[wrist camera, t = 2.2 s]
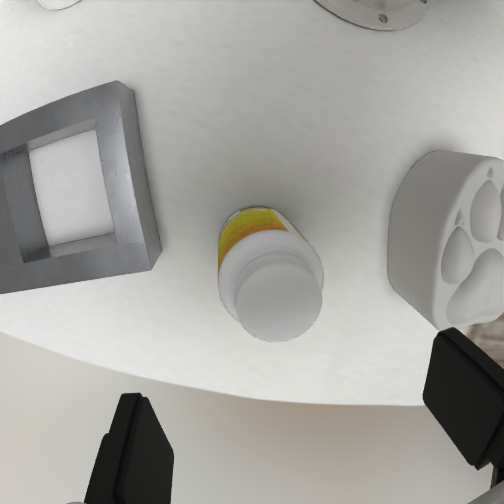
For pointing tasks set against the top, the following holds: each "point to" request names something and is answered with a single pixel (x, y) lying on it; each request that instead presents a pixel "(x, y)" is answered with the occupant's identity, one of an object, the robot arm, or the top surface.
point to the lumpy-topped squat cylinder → (450, 239)
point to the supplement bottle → (268, 275)
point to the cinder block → (116, 182)
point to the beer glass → (57, 4)
